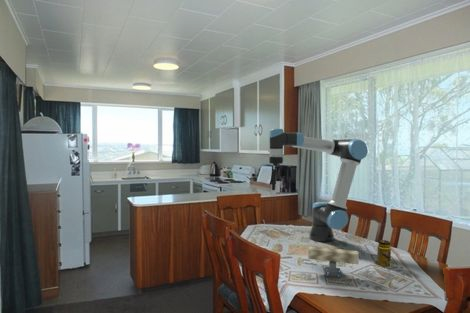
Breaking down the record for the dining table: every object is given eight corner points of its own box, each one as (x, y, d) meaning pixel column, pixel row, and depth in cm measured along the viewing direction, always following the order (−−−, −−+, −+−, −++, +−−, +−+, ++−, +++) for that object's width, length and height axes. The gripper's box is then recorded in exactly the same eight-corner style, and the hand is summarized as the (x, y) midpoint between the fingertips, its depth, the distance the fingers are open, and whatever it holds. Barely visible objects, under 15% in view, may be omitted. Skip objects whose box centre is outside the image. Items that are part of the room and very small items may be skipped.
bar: (308, 258, 151) (308, 249, 151) (308, 255, 155) (309, 246, 155) (358, 264, 144) (358, 254, 144) (357, 260, 149) (357, 251, 149)
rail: (324, 268, 156) (325, 255, 156) (339, 270, 154) (340, 256, 154) (324, 276, 146) (324, 262, 146) (340, 278, 144) (341, 264, 144)
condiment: (390, 268, 156) (391, 244, 156) (371, 265, 161) (372, 241, 160) (391, 263, 163) (392, 240, 162) (373, 260, 167) (374, 237, 166)
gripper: (273, 155, 193) (272, 190, 194) (265, 157, 169) (264, 197, 170) (285, 155, 191) (285, 191, 192) (279, 157, 167) (279, 198, 168)
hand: (275, 194), depth 181 cm, fingers open, 13 cm apart
